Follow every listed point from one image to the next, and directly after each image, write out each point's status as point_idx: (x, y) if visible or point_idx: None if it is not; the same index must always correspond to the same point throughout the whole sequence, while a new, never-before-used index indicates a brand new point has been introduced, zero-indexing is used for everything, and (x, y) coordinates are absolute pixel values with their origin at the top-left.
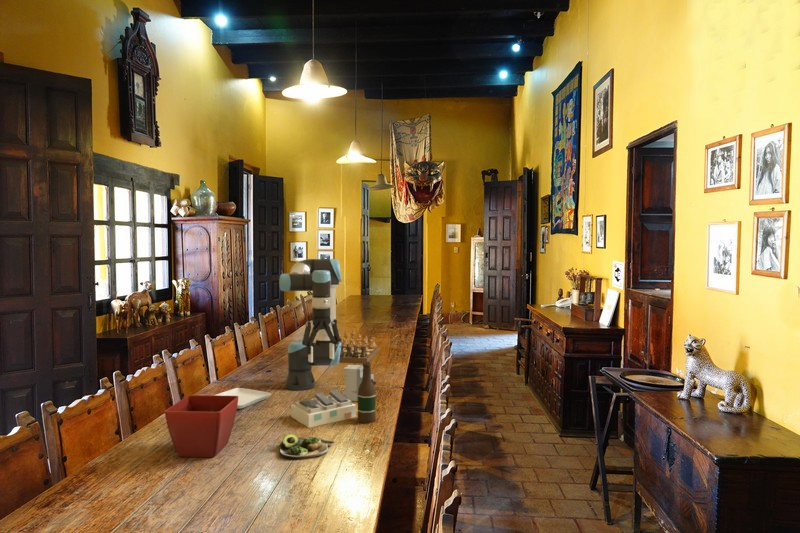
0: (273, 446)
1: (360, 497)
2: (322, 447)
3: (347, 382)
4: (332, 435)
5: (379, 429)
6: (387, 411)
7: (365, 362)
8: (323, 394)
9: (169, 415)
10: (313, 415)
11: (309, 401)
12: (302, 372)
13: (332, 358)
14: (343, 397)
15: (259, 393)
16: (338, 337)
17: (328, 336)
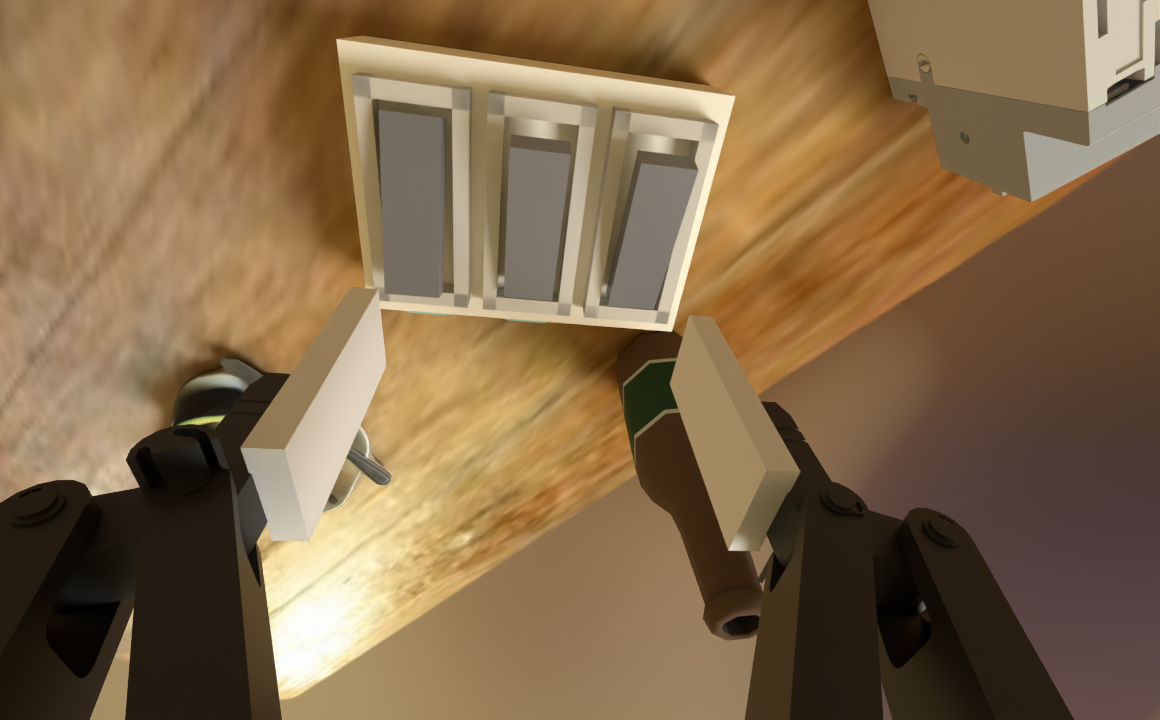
0: (160, 359)
1: (315, 655)
2: (340, 474)
3: (964, 8)
4: (435, 404)
5: (615, 454)
6: (812, 335)
7: (749, 614)
8: (560, 192)
9: None
10: (399, 306)
11: (389, 273)
12: None
13: (673, 385)
14: (652, 281)
15: None
16: (910, 658)
17: (798, 616)
